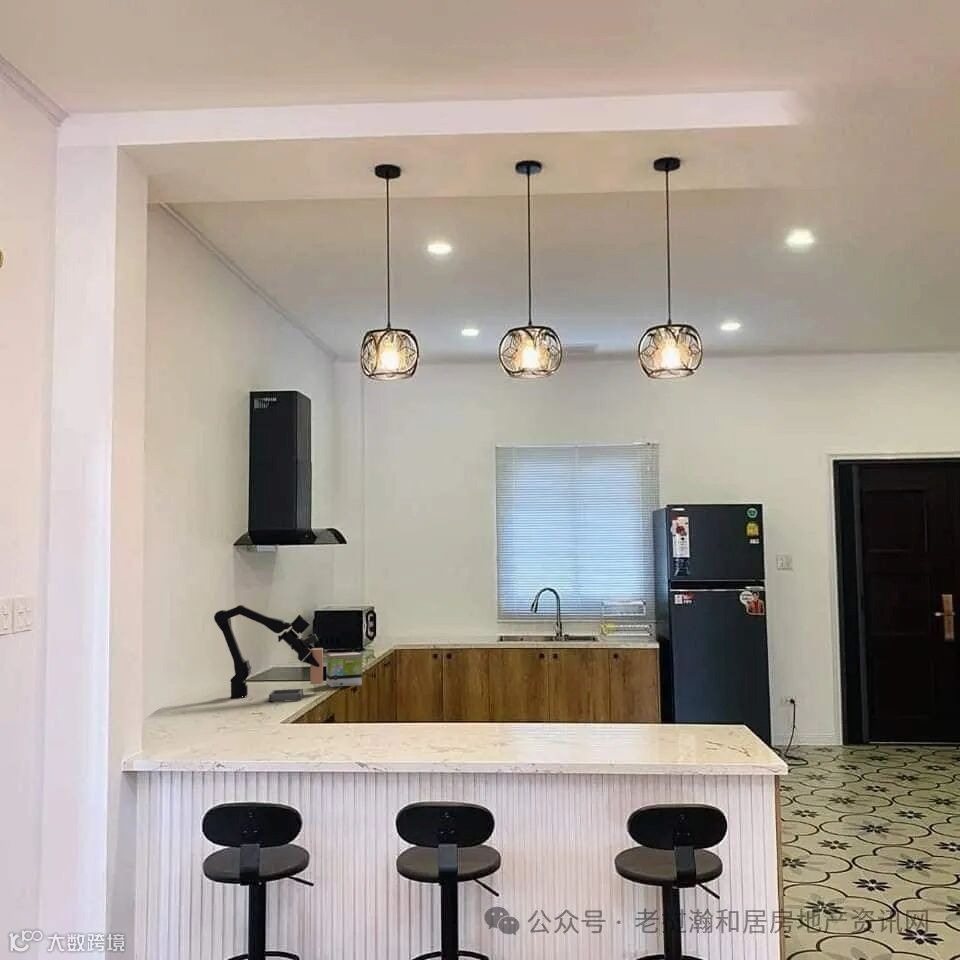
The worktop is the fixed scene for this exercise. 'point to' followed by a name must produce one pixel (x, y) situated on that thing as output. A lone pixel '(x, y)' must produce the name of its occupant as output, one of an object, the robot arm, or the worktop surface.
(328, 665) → the tea box
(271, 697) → the tray
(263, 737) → the worktop surface
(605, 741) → the worktop surface
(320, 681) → the peach block
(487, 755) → the worktop surface
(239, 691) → the robot arm
